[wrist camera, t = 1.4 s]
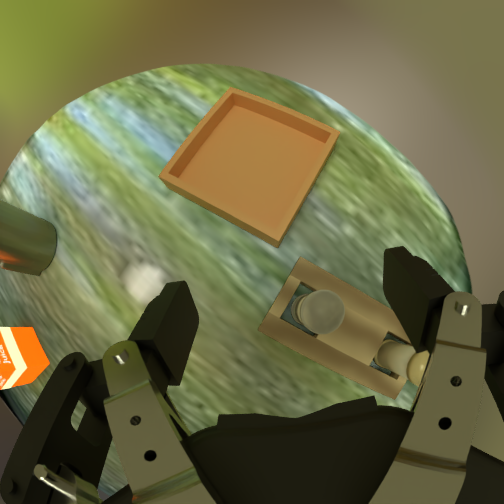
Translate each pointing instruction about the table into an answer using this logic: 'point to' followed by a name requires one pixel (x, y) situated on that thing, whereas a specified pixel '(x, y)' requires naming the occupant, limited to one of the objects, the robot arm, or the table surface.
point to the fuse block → (339, 330)
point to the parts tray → (251, 163)
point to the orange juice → (20, 356)
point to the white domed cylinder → (319, 311)
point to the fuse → (402, 360)
